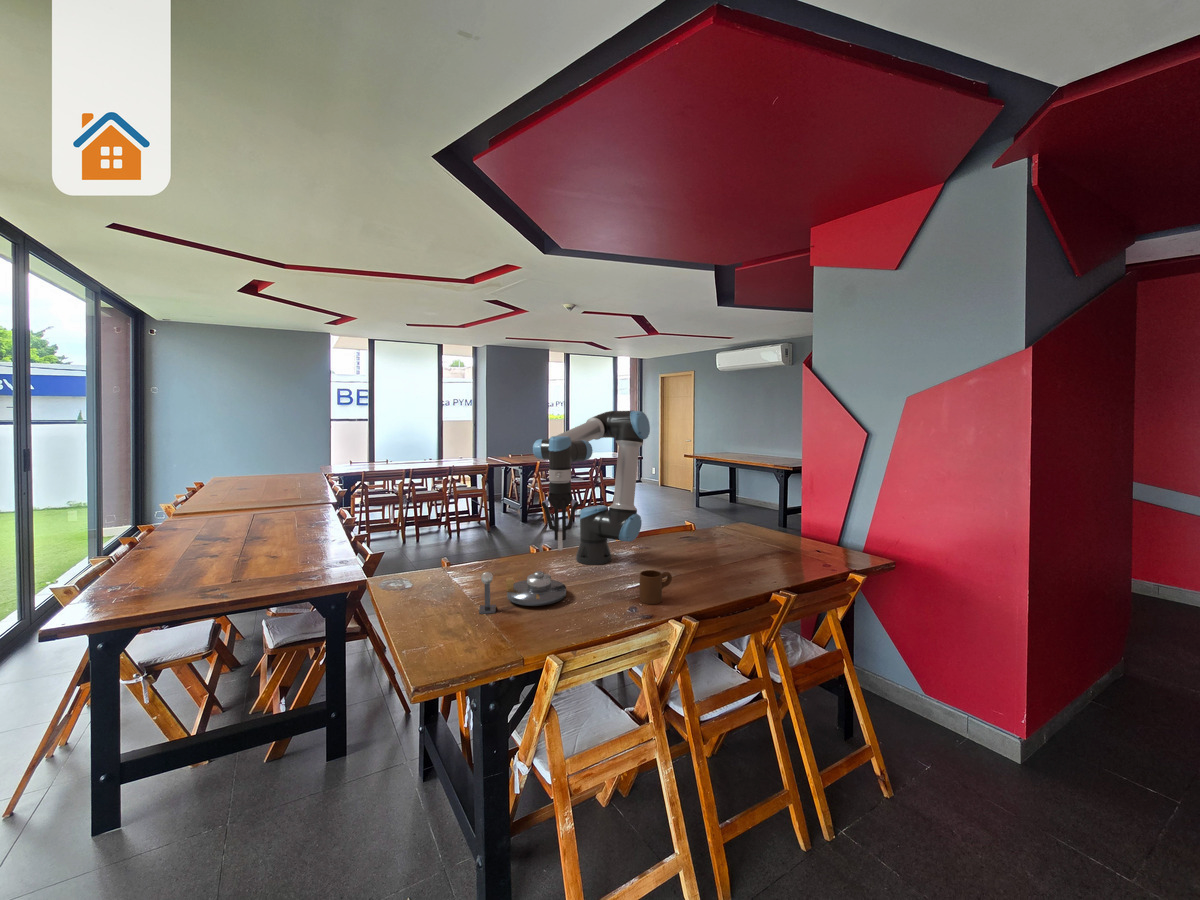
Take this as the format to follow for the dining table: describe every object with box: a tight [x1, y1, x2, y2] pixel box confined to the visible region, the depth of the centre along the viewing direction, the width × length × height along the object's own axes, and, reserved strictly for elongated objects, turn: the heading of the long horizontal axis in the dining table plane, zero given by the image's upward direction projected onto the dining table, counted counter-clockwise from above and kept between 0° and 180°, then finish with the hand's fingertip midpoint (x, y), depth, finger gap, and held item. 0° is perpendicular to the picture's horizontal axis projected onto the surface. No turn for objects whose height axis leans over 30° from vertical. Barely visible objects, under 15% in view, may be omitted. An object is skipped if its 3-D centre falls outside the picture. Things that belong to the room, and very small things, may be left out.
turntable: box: [505, 576, 567, 607], centre depth 168 cm, size 20×20×6 cm
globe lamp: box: [478, 571, 497, 615], centre depth 157 cm, size 5×5×13 cm
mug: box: [638, 569, 673, 605], centre depth 166 cm, size 12×8×9 cm, turn 114°
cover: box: [526, 570, 552, 593], centre depth 168 cm, size 8×8×6 cm
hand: (560, 549), depth 169 cm, fingers closed
